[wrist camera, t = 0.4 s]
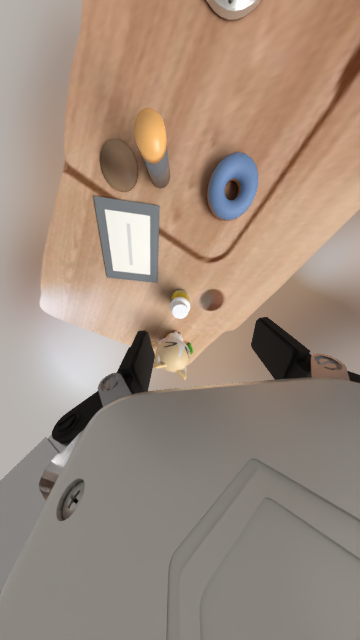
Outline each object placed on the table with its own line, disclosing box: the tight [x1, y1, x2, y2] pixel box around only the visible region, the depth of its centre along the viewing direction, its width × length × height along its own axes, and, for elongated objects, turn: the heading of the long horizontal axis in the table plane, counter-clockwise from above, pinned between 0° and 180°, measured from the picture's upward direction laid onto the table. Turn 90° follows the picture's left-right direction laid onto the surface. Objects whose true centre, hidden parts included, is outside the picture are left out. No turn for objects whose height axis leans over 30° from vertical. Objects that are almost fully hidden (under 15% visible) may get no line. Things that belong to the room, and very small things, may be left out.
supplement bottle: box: [170, 290, 190, 319], centre depth 35 cm, size 5×5×10 cm
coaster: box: [101, 139, 138, 192], centre depth 25 cm, size 7×7×1 cm
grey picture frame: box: [94, 196, 159, 283], centre depth 32 cm, size 17×14×1 cm
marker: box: [134, 108, 170, 188], centre depth 22 cm, size 4×4×11 cm
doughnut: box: [207, 152, 258, 221], centre depth 26 cm, size 10×10×5 cm
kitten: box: [151, 331, 193, 380], centre depth 41 cm, size 15×10×15 cm, turn 57°
